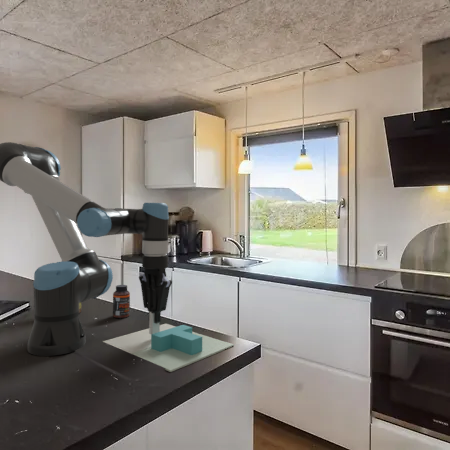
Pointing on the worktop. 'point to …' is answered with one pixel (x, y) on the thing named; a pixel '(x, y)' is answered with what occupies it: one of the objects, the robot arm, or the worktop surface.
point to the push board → (169, 358)
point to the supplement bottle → (121, 302)
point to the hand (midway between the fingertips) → (154, 332)
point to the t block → (177, 340)
